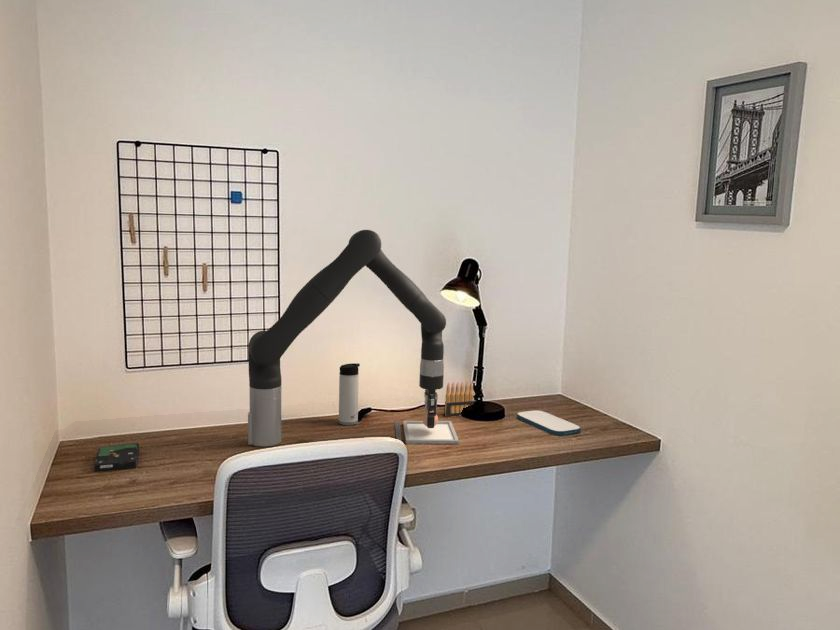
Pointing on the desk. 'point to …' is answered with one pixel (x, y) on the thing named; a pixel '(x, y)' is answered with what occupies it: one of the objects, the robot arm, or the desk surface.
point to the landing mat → (427, 433)
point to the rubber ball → (426, 419)
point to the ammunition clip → (458, 399)
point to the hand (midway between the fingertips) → (429, 425)
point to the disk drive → (117, 457)
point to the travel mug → (348, 394)
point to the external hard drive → (548, 422)
